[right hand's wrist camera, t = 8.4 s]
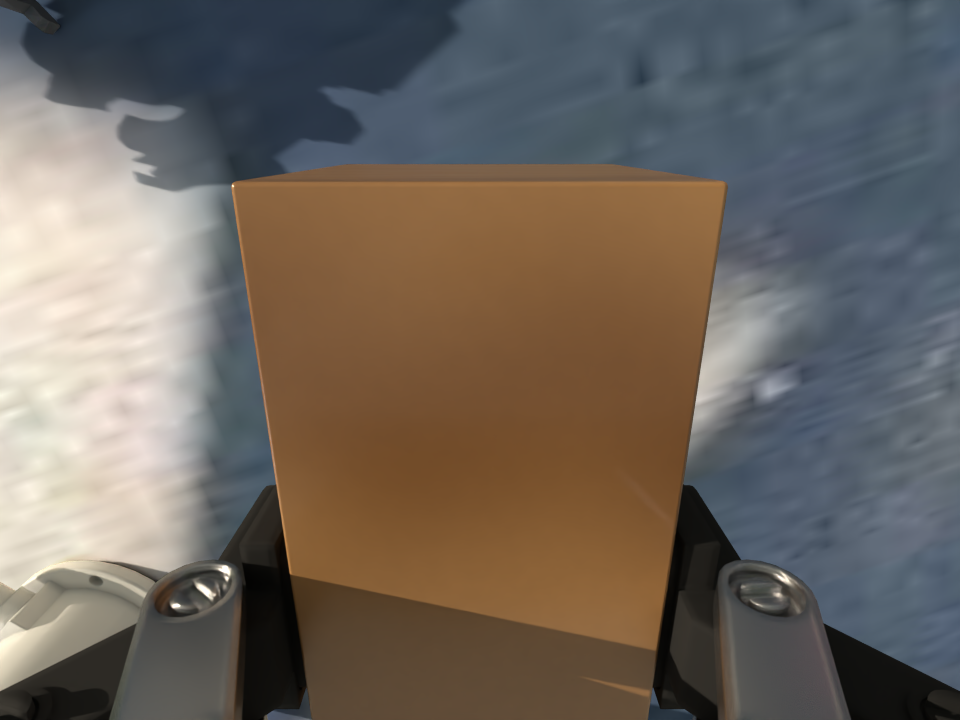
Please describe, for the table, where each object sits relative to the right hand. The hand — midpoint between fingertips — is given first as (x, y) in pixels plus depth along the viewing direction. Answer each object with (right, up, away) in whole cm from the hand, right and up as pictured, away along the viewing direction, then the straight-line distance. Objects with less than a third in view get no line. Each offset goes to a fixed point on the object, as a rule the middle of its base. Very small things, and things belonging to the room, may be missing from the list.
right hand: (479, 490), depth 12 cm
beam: (0, -28, +13) cm, 31 cm away
